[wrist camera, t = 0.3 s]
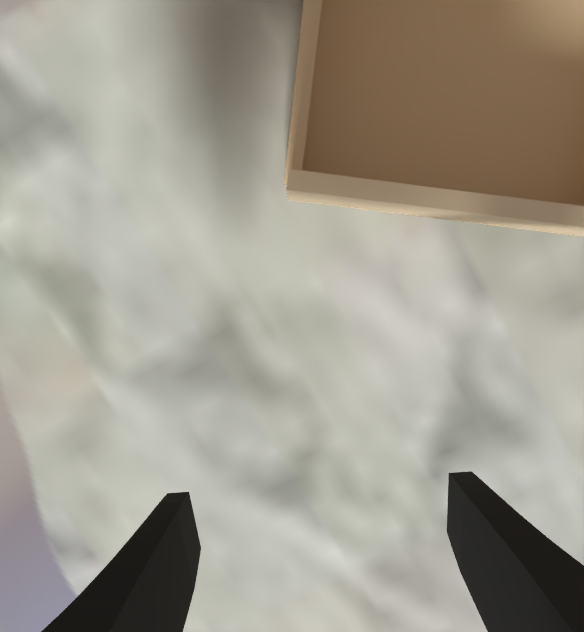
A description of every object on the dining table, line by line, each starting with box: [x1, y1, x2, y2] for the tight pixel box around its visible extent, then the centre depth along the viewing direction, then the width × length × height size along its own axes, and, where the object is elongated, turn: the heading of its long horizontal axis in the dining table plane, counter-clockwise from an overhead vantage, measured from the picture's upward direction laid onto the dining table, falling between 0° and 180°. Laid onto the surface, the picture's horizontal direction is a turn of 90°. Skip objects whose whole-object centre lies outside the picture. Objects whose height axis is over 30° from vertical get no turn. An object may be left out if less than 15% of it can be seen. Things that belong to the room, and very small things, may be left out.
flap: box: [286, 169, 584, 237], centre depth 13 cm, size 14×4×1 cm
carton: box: [284, 0, 584, 206], centre depth 15 cm, size 14×13×4 cm
